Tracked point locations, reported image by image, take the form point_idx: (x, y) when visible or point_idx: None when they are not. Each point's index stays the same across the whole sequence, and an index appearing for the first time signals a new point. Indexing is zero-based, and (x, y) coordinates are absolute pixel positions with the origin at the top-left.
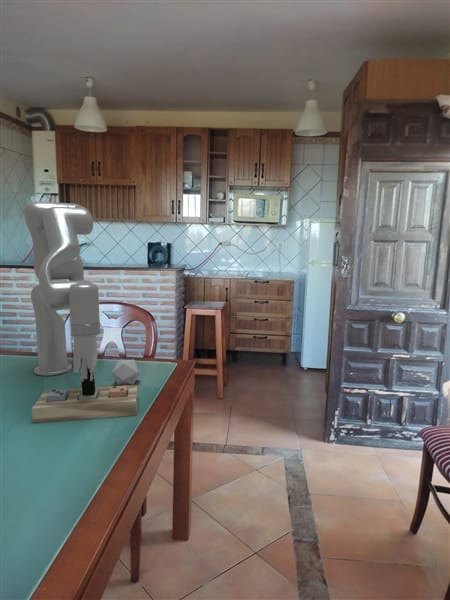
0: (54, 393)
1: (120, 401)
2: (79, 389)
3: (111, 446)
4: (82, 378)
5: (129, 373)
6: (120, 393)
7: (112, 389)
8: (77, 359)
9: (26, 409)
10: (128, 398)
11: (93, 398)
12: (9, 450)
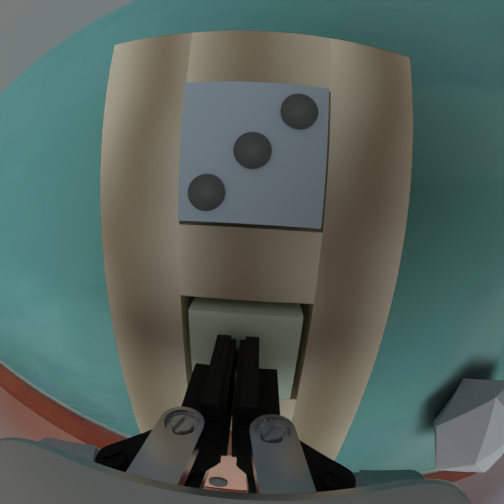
0: (234, 127)
1: None
2: (379, 288)
3: (16, 356)
4: (41, 442)
5: (442, 453)
6: None
7: (232, 461)
8: None
9: (322, 12)
10: None
11: None
12: (3, 97)
